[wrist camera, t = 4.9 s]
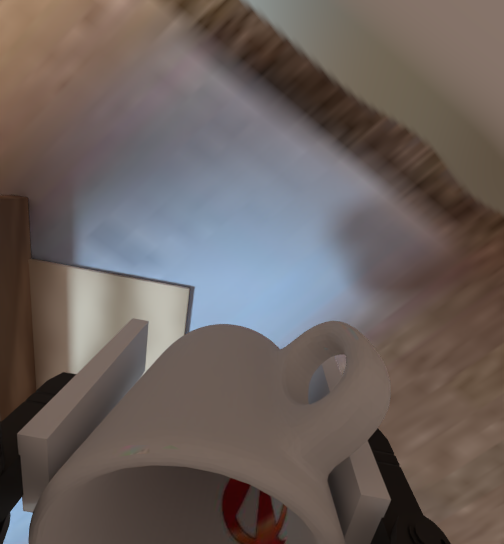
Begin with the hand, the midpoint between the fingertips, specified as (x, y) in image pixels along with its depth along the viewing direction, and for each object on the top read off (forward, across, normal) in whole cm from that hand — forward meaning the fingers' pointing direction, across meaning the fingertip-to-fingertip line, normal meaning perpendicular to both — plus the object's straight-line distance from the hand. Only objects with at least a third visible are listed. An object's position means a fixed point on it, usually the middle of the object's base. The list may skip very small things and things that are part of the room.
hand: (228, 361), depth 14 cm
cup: (+1, +1, 0) cm, 1 cm away
